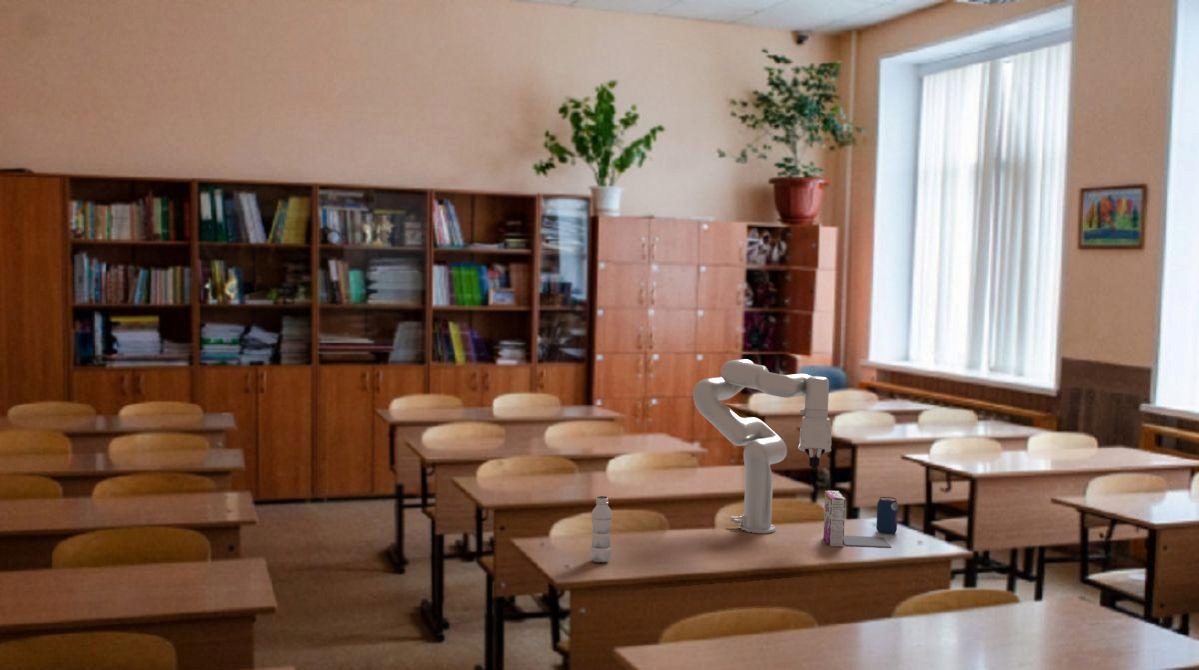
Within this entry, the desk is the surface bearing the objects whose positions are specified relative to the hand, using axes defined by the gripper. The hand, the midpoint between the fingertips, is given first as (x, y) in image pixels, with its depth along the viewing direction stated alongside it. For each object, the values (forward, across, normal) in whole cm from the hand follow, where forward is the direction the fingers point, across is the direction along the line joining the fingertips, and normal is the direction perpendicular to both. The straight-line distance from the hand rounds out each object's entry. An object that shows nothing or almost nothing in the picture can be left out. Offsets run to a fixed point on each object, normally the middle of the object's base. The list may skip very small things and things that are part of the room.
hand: (813, 468), depth 355 cm
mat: (+25, +18, +2) cm, 31 cm away
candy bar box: (+25, +7, 0) cm, 26 cm away
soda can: (+25, +28, +16) cm, 41 cm away
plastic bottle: (+25, -69, -34) cm, 81 cm away
